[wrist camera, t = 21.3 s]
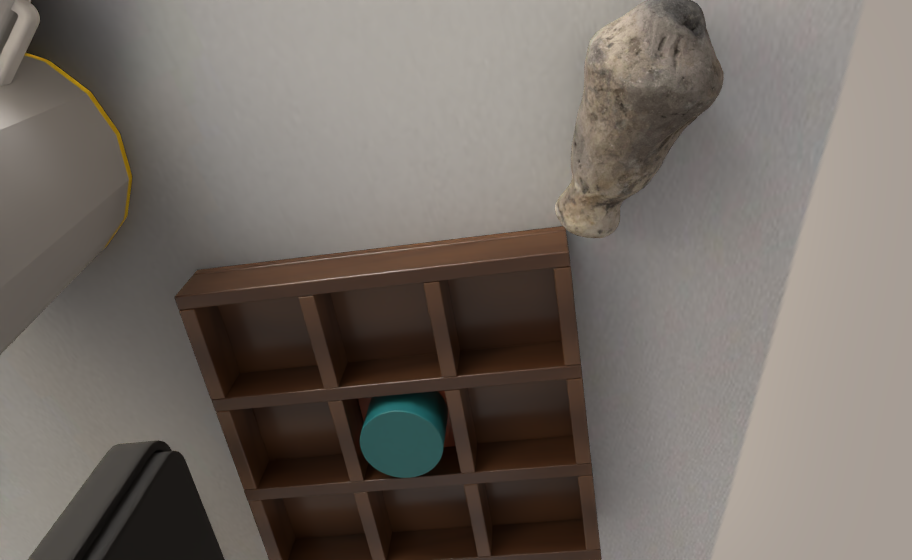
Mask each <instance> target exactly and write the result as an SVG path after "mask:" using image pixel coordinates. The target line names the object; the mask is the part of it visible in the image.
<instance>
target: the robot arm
mask: <svg viewBox="0 0 912 560" xmlns="http://www.w3.org/2000/svg"><path fill="white" fill-rule="evenodd" d="M28 560H225V559H224V557H223V554H222V552H221V549H220V547H219V544H218V542H217V539H216V537H215V534H214V532H213V529H212V527H211V524H210V522H209V519H208V517H207V514H206V511H205V509H204V506H203V504H202V501H201V499H200V496H199V494H198V491H197V489H196V486H195V484H194V481H193V479H192V476H191V474H190V471H189V469H188V466H187V464H186V461H185V459H184V457H183V455H182V454H181V453H179V452H177V451H172V450H171V449H170V447H169V446H168V445H167V444H166V443H165V442H163V441H148V442H137V443H126V444H118V445H115V446H113V447H112V448H111V449H110V450H109V451H108V452H107V453H106V455H105V456H104V457H103V459H102V460H101V461H100V463H99V464H98V465H97V467H96V468H95V469H94V471H93V472H92V473H91V475H90V476H89V478H88V479H87V480H86V482H85V483H84V484H83V486H82V487H81V488H80V490H79V491H78V492H77V494H76V495H75V496H74V498H73V499H72V501H71V502H70V503H69V505H68V506H67V507H66V509H65V510H64V511H63V513H62V514H61V515H60V517H59V518H58V519H57V521H56V522H55V524H54V525H53V526H52V528H51V529H50V530H49V532H48V533H47V534H46V536H45V537H44V538H43V540H42V541H41V542H40V544H39V545H38V547H37V548H36V549H35V551H34V552H33V553H32V555H31V556H30V557H29V559H28Z"/></svg>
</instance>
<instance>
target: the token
mask: <svg viewBox="0 0 912 560" xmlns="http://www.w3.org/2000/svg"><path fill="white" fill-rule="evenodd" d="M447 418H448V410H447V405H446V403H445V401H444V399H443V397H442V396H441V395H440V393H439V392H438V391H434V392H423V393H412V394H401V395H390V396H380V397H372V398H371V401H370V404H369V407H368V411H367V414H366V418H365V421H364V424H363V428H362V431H361V435H360V447H361V450H362V453H363V455H364V457H365V458H366V460H367V461H368V462H369V463H370V464H371V465H372V466H373V467H374V468H375V469H377V470H378V471H380V472H382V473H384V474H387V475H390V476H393V477H398V478H411V477H417V476H420V475H423V474H425V473H427V472H429V471H430V470H432V469H433V468H434V467H435V466H436V465H437V464H438V462H439V461H440V459H441V457H442V454H443V448H444V441H445V433H446V426H447Z"/></svg>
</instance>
